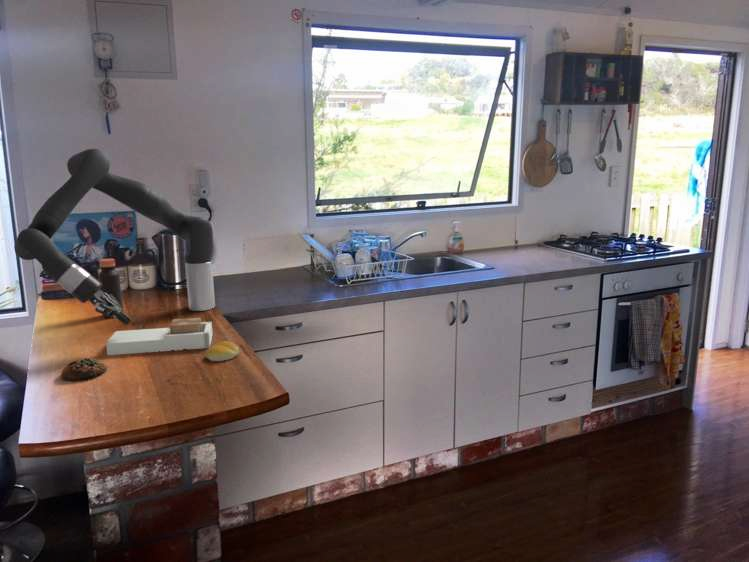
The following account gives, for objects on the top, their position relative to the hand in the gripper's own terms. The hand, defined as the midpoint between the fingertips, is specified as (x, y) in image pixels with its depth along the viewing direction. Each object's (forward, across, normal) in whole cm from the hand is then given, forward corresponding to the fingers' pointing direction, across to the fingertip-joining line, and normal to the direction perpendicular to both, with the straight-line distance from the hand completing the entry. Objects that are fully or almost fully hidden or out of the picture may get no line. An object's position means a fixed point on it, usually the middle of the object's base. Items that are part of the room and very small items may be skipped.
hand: (129, 322), depth 180 cm
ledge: (+7, 0, +4) cm, 8 cm away
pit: (+17, 0, -6) cm, 18 cm away
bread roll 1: (0, -20, +12) cm, 23 cm away
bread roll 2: (+25, -14, -13) cm, 31 cm away
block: (+11, 0, -6) cm, 13 cm away
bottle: (-4, +39, +15) cm, 42 cm away
